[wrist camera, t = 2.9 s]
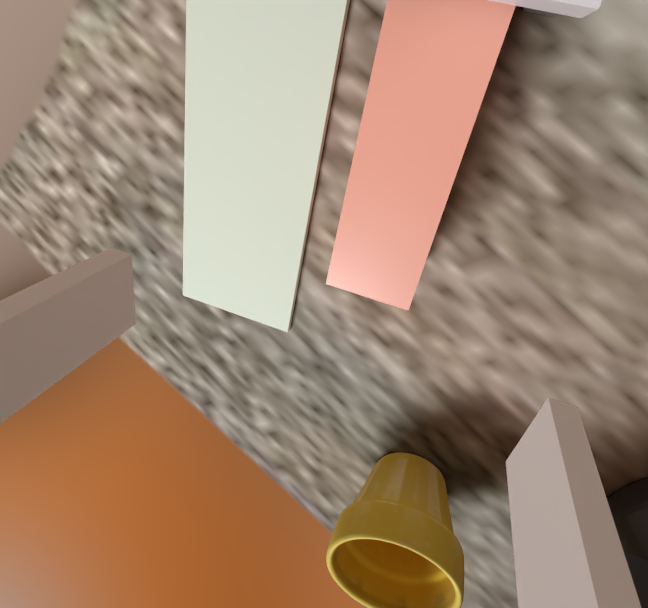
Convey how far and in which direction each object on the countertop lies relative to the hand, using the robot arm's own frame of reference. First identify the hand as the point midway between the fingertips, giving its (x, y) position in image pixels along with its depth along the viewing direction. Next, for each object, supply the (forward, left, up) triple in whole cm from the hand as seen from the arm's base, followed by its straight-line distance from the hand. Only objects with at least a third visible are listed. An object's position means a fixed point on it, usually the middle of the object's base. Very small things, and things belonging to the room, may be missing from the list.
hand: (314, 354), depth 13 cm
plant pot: (-25, -8, -18) cm, 32 cm away
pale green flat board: (-1, +11, -18) cm, 21 cm away
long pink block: (+6, 0, -18) cm, 19 cm away
